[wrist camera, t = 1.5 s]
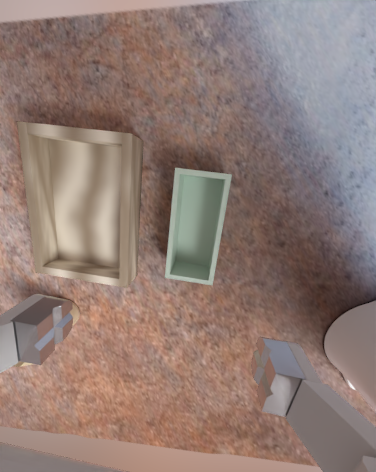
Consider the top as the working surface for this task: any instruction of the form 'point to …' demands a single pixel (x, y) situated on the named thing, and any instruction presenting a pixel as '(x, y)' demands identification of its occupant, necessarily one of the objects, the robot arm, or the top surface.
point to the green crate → (196, 224)
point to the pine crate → (83, 201)
